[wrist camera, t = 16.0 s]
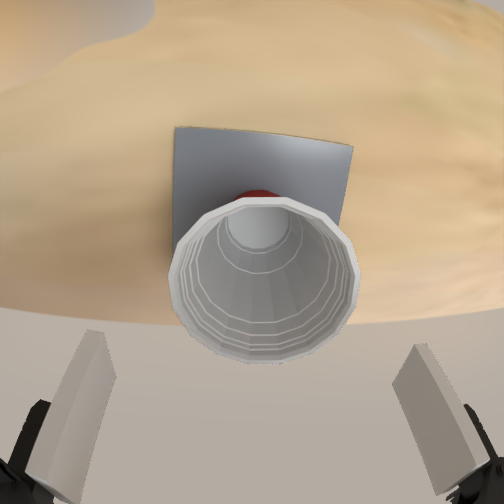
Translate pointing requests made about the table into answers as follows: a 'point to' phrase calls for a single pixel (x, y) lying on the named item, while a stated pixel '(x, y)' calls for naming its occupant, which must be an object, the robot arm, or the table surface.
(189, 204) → the slate tile
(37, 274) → the table surface
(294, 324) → the plastic cup
